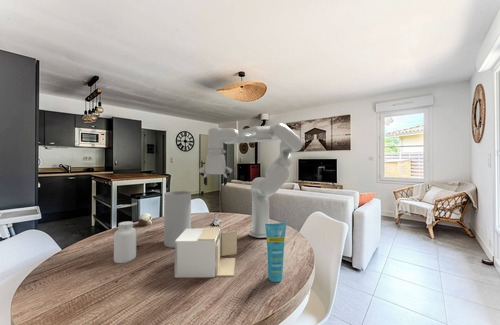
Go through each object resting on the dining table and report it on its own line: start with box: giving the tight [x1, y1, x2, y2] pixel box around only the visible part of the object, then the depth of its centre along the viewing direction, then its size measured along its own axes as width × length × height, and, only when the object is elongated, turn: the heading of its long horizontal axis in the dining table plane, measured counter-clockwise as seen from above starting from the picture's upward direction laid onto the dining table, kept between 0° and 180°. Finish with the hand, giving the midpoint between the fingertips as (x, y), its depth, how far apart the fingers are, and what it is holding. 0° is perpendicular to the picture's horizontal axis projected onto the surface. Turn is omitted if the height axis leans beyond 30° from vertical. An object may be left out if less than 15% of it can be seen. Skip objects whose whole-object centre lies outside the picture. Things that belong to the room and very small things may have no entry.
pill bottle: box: [113, 220, 137, 264], centre depth 85 cm, size 8×8×15 cm
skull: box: [134, 212, 153, 227], centre depth 131 cm, size 12×10×10 cm
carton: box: [174, 227, 236, 278], centre depth 79 cm, size 20×14×13 cm
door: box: [220, 230, 238, 257], centre depth 91 cm, size 8×7×10 cm
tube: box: [265, 222, 287, 283], centre depth 72 cm, size 7×5×19 cm, turn 103°
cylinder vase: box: [163, 190, 192, 249], centre depth 103 cm, size 12×12×25 cm
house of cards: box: [211, 212, 221, 225], centre depth 135 cm, size 9×9×8 cm
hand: (215, 185), depth 107 cm, fingers open, 9 cm apart
